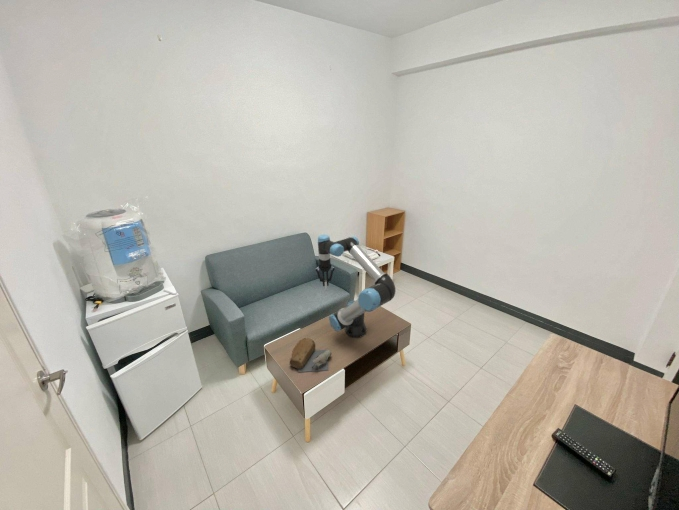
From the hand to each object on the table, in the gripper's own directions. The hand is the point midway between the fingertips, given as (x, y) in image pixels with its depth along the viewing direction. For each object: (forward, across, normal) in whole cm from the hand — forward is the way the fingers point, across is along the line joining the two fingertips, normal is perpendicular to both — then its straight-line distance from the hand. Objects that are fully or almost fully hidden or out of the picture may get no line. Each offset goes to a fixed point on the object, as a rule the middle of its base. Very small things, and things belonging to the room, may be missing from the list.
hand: (325, 289), depth 186 cm
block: (+28, +13, +18) cm, 36 cm away
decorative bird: (+32, +4, +34) cm, 47 cm away
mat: (+32, +10, +31) cm, 46 cm away
